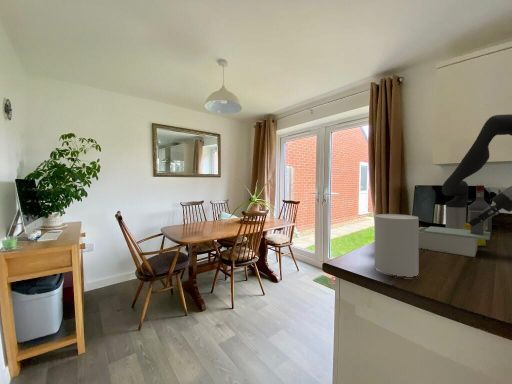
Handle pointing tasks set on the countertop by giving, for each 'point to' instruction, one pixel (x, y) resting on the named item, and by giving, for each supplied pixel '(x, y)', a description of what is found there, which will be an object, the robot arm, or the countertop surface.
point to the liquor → (480, 207)
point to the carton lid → (475, 230)
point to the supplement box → (479, 241)
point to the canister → (397, 244)
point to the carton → (447, 243)
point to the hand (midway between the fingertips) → (470, 224)
